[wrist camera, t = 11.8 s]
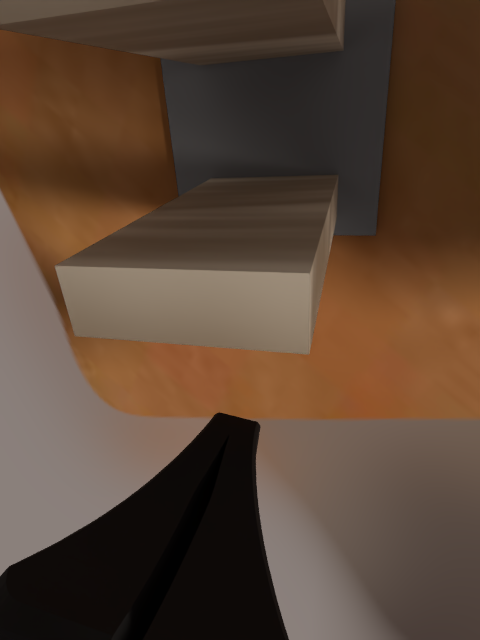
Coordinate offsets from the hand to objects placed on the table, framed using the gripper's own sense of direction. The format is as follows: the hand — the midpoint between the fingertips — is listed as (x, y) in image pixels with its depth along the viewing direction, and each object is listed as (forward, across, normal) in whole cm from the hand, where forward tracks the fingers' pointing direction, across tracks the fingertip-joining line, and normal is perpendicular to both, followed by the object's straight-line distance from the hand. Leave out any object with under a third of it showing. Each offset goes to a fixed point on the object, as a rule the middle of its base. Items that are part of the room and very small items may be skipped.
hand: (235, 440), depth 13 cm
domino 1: (+7, +1, -6) cm, 9 cm away
